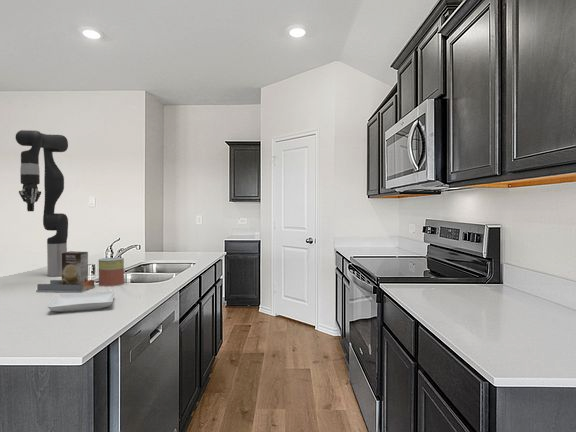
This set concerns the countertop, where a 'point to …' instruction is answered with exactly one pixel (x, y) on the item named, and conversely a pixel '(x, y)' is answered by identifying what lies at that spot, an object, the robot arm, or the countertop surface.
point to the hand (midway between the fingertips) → (30, 211)
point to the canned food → (111, 271)
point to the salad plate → (81, 301)
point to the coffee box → (74, 267)
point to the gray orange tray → (65, 287)
